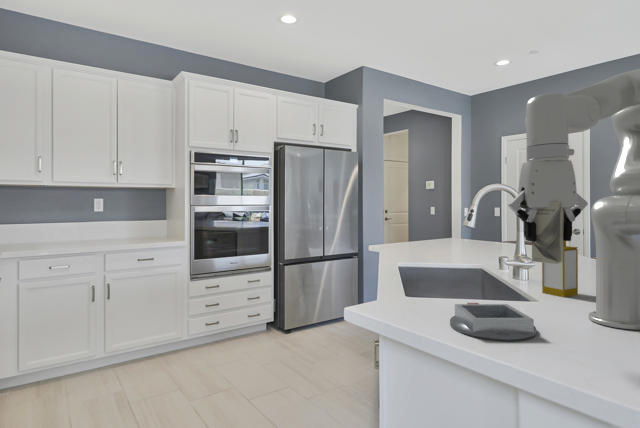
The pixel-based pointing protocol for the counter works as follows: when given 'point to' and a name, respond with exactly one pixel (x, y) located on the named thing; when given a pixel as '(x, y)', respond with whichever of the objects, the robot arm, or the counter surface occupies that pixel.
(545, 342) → the counter surface
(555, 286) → the soap bottle
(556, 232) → the box
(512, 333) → the disc with square frame
